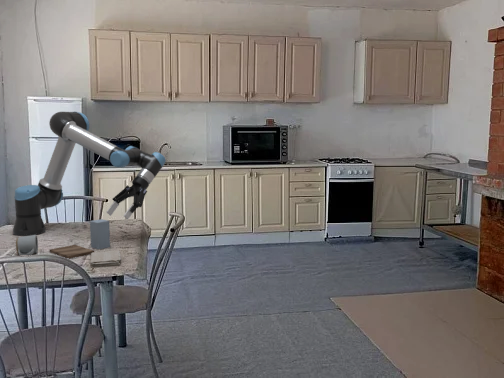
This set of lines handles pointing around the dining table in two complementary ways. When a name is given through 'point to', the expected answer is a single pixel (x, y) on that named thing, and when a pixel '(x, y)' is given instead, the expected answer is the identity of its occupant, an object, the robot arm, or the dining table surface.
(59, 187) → the robot arm
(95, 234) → the slate block
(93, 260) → the washcloth
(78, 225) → the dining table surface
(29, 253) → the ceramic mug
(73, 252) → the walnut board
